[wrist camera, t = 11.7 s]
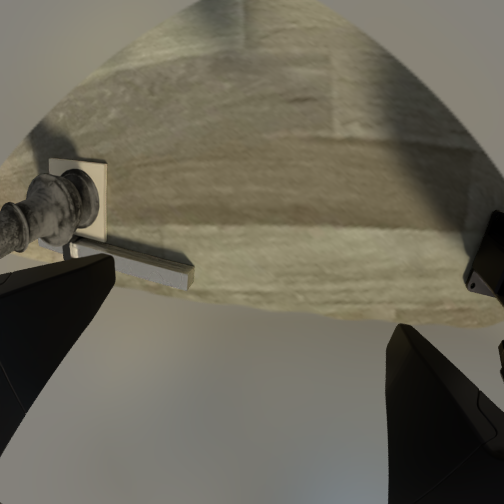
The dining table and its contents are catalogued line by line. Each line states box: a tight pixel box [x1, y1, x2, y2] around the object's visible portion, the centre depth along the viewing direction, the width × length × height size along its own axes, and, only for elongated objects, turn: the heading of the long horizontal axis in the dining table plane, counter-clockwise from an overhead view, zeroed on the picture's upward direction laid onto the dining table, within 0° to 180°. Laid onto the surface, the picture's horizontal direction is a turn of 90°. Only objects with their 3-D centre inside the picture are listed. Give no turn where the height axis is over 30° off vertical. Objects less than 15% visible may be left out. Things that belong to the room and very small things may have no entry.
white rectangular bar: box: [38, 234, 195, 291], centre depth 25 cm, size 16×2×2 cm, turn 81°
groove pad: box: [49, 158, 107, 242], centre depth 24 cm, size 7×7×1 cm
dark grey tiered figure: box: [0, 169, 100, 259], centre depth 18 cm, size 6×6×12 cm
